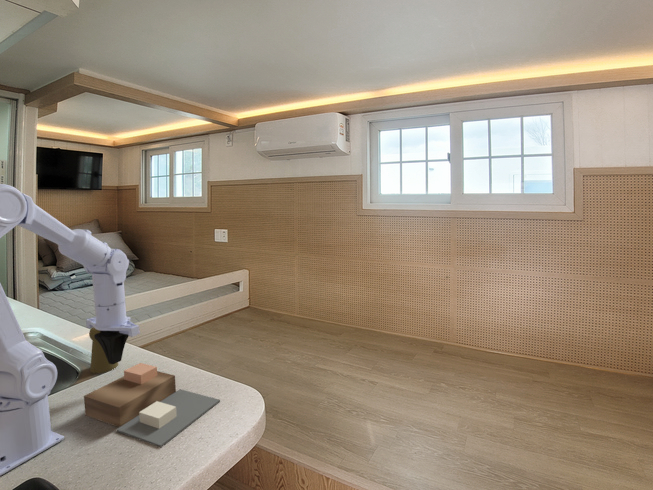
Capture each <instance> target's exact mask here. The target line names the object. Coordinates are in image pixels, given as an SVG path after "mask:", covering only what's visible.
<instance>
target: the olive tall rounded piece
mask: <svg viewBox="0 0 653 490" xmlns="http://www.w3.org/2000/svg"><path fill="white" fill-rule="evenodd" d="M97 333H100V330H97V329H95V328H94V327H92V328H90V330H89V338H90V340H91V341H92V343H91V355H90V373H92V374H104V373H107V372H111V371H113V370H115V369H117V368H118V367H117V366H119V362H117V363H115V364H109V362H108V360H107V358H106V355H105V353H104V350H103V348H102V347H101V345H100V344H99V342H98V341H97V340H96V339H95V338H94V335H95V334H97ZM116 367H117V368H116ZM114 368H115V369H114ZM112 369H113V370H112Z"/></svg>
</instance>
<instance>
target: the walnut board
mask: <svg viewBox="0 0 653 490" xmlns="http://www.w3.org/2000/svg"><path fill="white" fill-rule="evenodd" d="M176 386H177V385H176V375H174V374H172V373H171V374H170V373H167V372H163V371H158V370H157V376H156V377H154V378H152V379H150V380H148V381H147V382H145V383H143V384H138V383H135V382H131V381H127V380H124V375H123V376H122V377H120V378H118V379H115V380H113V381H112V382H110V383H108V384H105V385H103V386H101V387H100V388H97V389H95V390H94V391H93V390H92V391H91V392H89V393H87V394H85V395H83V401H84V414H85V416H86V417H90V418H92V419H95V420H98V421H101V422H103V423H106V424H109V425H112V426H115V427H117V428H119V427H121V426H122V425H124V424H126V423H127V422H129V421H130V420H132V419H134V418H135V417H137V416H138V415H139V412H140V411H142V410H144V409H145V408H147V407H148V406H150V405H152V404H153V403H155V402H156V401H158V402H160V401H162V400H164V399H165V398H167V397H168V396H170V395H172V394H173V393H175V392H176V391H177V390H176Z"/></svg>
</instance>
